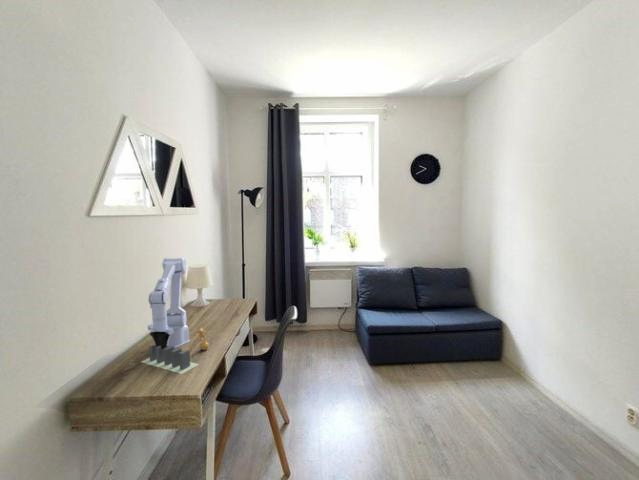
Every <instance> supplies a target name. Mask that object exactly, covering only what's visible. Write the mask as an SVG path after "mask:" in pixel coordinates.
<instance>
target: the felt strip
mask: <svg viewBox="0 0 639 480" xmlns="http://www.w3.org/2000/svg"><path fill="white" fill-rule="evenodd" d="M141 363H142V364H146V365H150V366H153V367H157V368H160V369H163V370H167V371H169V372H170V371H171V372H173V373H177V374H180V375H183V374H184V373H186V372H188V371H190V370H191V369H193V368H195V367H197V366H199V364H198V363H196V362H191V361H190V366H189V367H187V368H185V369H184V370H182V369H180V365H179V366H177V367H175V368H174V367H172V363H171V364H169V365H164V362H162V363H157V359H156V360H154V361H150V357H148V358H146V359H145V360H142V361H141Z"/></svg>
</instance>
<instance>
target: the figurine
mask: <svg viewBox="0 0 639 480" xmlns="http://www.w3.org/2000/svg"><path fill="white" fill-rule="evenodd" d="M196 333H198V338H200V342H201V343H200V345H199V348H200V350H202V351H206V350H208V349H209V346H210V345H209V342H207V341H206V339H207V337H206V336H205V334H207V336H209V337H210V338H211V335H210V334H209V333H208V332H207V331H205V330H203V327H200V328H199V329H198V330H196V331H194V335H193V337H196Z"/></svg>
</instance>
